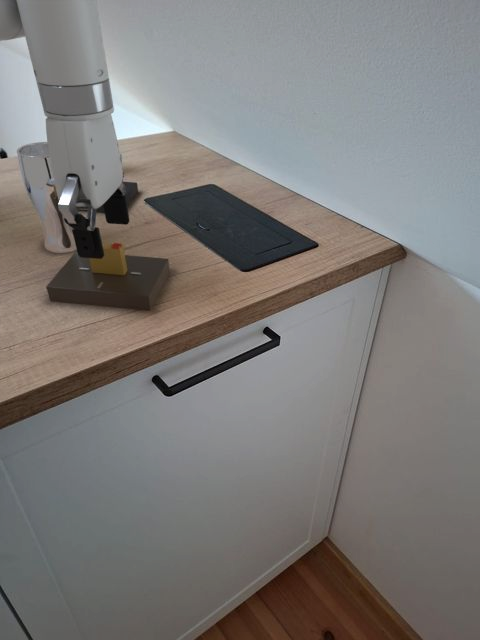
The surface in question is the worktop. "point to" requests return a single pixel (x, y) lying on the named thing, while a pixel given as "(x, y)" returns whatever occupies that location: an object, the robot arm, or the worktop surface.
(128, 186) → the alarm box
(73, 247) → the beer glass
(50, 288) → the plate
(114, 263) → the thumb turn
